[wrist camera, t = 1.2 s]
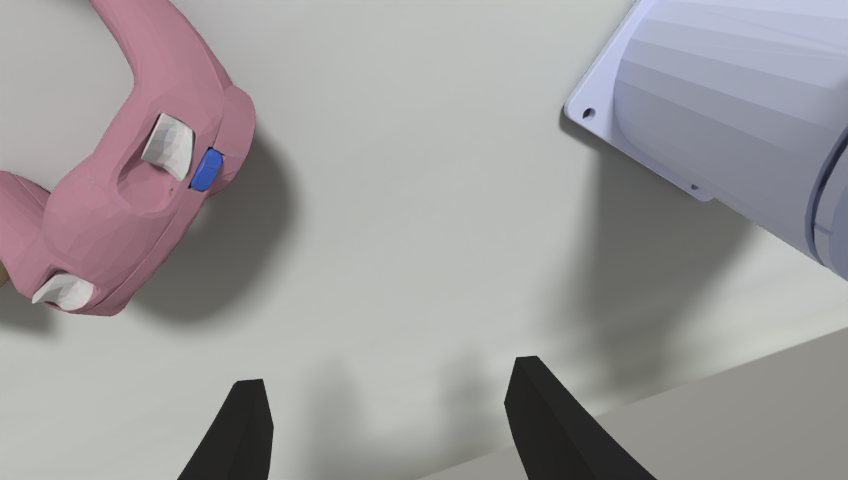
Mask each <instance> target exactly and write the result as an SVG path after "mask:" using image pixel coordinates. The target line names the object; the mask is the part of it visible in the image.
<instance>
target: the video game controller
mask: <svg viewBox="0 0 848 480" xmlns="http://www.w3.org/2000/svg"><path fill="white" fill-rule="evenodd" d="M89 1H90V3H91V4H92V6H93V7H94V9H95V10H96V11H97V13H98V14H99V16H100V17H101V19H102V20H103V22H104V23H105V25H106V26H107V28H108V29H109V31H110V32H111V34H112V35H113V37H114V38H115V40H116V41H117V43H118V44H119V46H120V48H121V50H122V52H123V54H124V55H125V57H126V59H127V61H128V63H129V65H130V67H131V69H132V72H133V74H134V88H133V90H132V92H131V94H130V95H129V97H128V99H127V100H126V102H125V103H124V104H123V106H122V107H121V109H120V110H119V112H118V113H117V115H116V116H115V118H114V119H113V121H112V122H111V124H110V125H109V127H108V129H107V130H106V132H105V134H104V136H103V137H102V139H101V141H100V142H99V144H98V146H97V147H96V149H95V151H94V153H93V154H92V155H90V156H89V157H88V158H86V159H85V160H84V161H82V162H81V163H80V164H79V165H77V166H76V167H75V168H74V169H73V170H71V171H70V172H69V173H68V174H67V175H66V176H65V177H64V178H63V179H62V180H61V181H60V182H59V183H58V184H57V186H56V187H55V188H54V190H53V191H52V193H51V194H50V193H48V192H47V191H45V190H44V189H42V188H41V187H39V186H38V185H36V184H35V183H33V182H31V181H29V180H27V179H25V178H23V177H20V176H17V175H14V174H11V173H10V172H6V171H0V259H1V261H2V263H3V264H4V266H5V268H6V270H7V272H8V274H9V276H10V278H11V280H12V283H13V285H14V287H15V288H16V289H17V291H18V292H19V293H20V294H22V295H24V296H25V297H27V298H29V299H32V304H34V303H39V302H40V303H42V304H45V305H47V306H50V307H52V308H55V309H58V310H61V311H64V312H68V313H71V314H84V315H97V316H114V315H116V314H118V313H119V312H120V311H122V310H123V309H124V308H125V306H126V305H127V303H128V302H129V300H130V298H131V297H132V295H133V294H134V292H135V291H136V290H138V289H139V288H140V287H141V286H142V285H143V284H144V283H145V282H146V281H147V280H148V278H149V277H150V276H151V275H152V274H153V273H154V272H155V271H156V270H157V269H158V267H159V266H160V265H161V264H162V263H163V262H164V261H165V259H166V258H167V257H168V255H169V254H170V253H171V251H172V250H173V249H174V247H175V246H176V245H177V243H178V242H179V241H180V239H181V238H182V237H183V235H184V234H185V232H186V231H187V229H188V228H189V226H190V225H191V223H192V222H193V220H194V219H195V217H196V215H197V214H198V212H199V210H200V208H201V207H202V205H203V203H204V201H205V200H206V198H207V197H208V196H211V195H213V194H215V193H217V192H219V191H221V190H222V189H224V188H225V187H226V186H227V185H228V184H229V183H230V182H231V181H232V180H233V178H234V177H235V176H236V174H237V173H238V171H239V170H240V168H241V167H242V165H243V162H244V160H245V158H246V156H247V154H248V152H249V149H250V146H251V142H252V139H253V135H254V130H255V119H256V117H255V109H254V105H253V102H252V100H251V98H250V97H249V96H248V95H247V94H246V93H245V92H244V91H242V90H241V89H239V88H238V87H236V86H235V85H233V84H232V82H231V80H230V78H229V76H228V74H227V73H226V71H225V69H224V68H223V66H222V65H221V64H220V62H219V61H218V59H217V58H216V56H215V55H214V54H213V52H212V51H211V49H210V48H209V47H208V45H207V44H206V42H205V41H204V39H203V38H202V37H201V35H200V34H199V33H198V32H197V31H196V29H195V28H194V27H193V26H192V25H191V23H190V22H189V21H188V20H187V18H186V17H185V16H184V15H183V14H182V13H181V12H180V11H179V10H178V9H177V8H176V7H175V6H174V5H173V4H172V3H171V2H170V1H169V0H89Z"/></svg>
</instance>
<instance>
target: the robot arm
mask: <svg viewBox="0 0 848 480" xmlns="http://www.w3.org/2000/svg"><path fill="white" fill-rule="evenodd" d="M588 108H590V109H591V112H590V114H589V115H588V116H587V117H586V118H583V113H584V111H585V110H586V109H588ZM564 113H565V115H566V116H567V117H568V118H569V119H571V120H572V121H574V122H575V123H577V124H579V125H580V126H582V127H583V128H585V129H587V130H588V131H590V132H591V133H593V134H595V135H596V136H598V137H599V138H601V139H602V140H604V141H606V142H607V143H609V144H610V145H612V146H614V147H615V148H617V149H618V150H620V151H622V152H623V153H625V154H626V155H628V156H630V157H631V158H633V159H634V160H636V161H638V162H639V163H641V164H642V165H644V166H645V167H647V168H649V169H650V170H652V171H653V172H655V173H657V174H658V175H660V176H661V177H663V178H665V179H666V180H668V181H669V182H671V183H673V184H674V185H676V186H677V187H679V188H681V189H682V190H684V191H685V192H687V193H688V194H690V195H692V196H693V197H695V198H696V199H698V200H700V201H702V202H708V201H710V200H712V199H713V198H716V199H717V200H719V201H721V202H722V203H724V204H725V205H727V206H729V207H730V208H732V209H733V210H735V211H737V212H738V213H740V214H741V215H743V216H744V217H746V218H748V219H749V220H751V221H752V222H754V223H756V224H757V225H759V226H760V227H762V228H764V229H765V230H767V231H768V232H770V233H772V234H773V235H775V236H776V237H778V238H779V239H781V240H783V241H784V242H786V243H787V244H789V245H791V246H792V247H794V248H795V249H797V250H799V251H800V252H802V253H803V254H805V255H806V256H808V257H810V258H811V259H813V260H814V261H816V262H818V263H819V264H821V265H823V266H825V267H827V268H829V269H830V270H831V271H832V272H833V273H835V274H837V275H838V276H840V277H841V278H843V279H844V280H846V281H848V0H636V2H635V3H634V5H633V6H632V8H631V9H630V10H629V12H628V13H627V15H626V16H625V18H624V19H623V20H622V22H621V23H620V25H619V26H618V28H617V29H616V30H615V32H614V33H613V35H612V36H611V38H610V39H609V40H608V42H607V43H606V45H605V46H604V48H603V49H602V50H601V52H600V53H599V55H598V56H597V58H596V59H595V60H594V62H593V63H592V65H591V66H590V68H589V69H588V70H587V72H586V73H585V75H584V76H583V78H582V79H581V80H580V82H579V83H578V85H577V86H576V88H575V89H574V90H573V92H572V93H571V95H570V96H569V98H568V99H567V101H566V103H565V105H564ZM692 184H693V185H692ZM504 405H505V409H506V413H507V417H508V421H509V425H510V428H511V432H512V436H513V439H514V442H515V445H516V448H517V450H518V453H519V456H520V458H521V461H522V463H523V466H524V468H525V471H526V474H527V476H528V479H529V480H657V479H656V478H655V477H653V476H652V475H651V474H650V473H649V472H648V471H647V470H646V469H645V468H643V467H642V466H641V465H640V464H639V463H638V462H637V461H636V460H635V459H634V458H633V457H631V456H630V455H629V454H628V453H627V452H626V451H625V450H624V449H623V448H622V447H621V446H620V445H619V444H618V443H617V442H616V441H615V440H614V439H613V438H612V437H611V436H610V435H609V434H608V433H607V432H606V431H605V430H604V429H603V428H602V427H601V426H600V425H599V424H598V423H597V422H596V421H595V419H594V418H593V417H592V416H591V415H590V414H589V413H588V412H587V411H586V410H585V409H584V408H583V407H582V406H581V405H580V404H579V402H578V401H577V400H576V399H575V398H574V397H573V396H572V395H571V394H570V393H569V391H568V390H567V389H566V388H565V387H564V386H563V385H562V384H561V382H560V381H559V380H558V379H557V378H556V377H555V376H554V374H553V373H552V372H551V371H550V370H549V369H548V368H547V366H546V365H545V364H544V363H543V362H542V361H541V360H540V359H539V358H538V357H537V356H527V357H516V360H515V364H514V368H513V371H512V375H511V379H510V383H509V386H508V390H507V394H506V398H505V401H504ZM273 429H274V426H273V421H272V417H271V413H270V408H269V404H268V400H267V395H266V391H265V386H264V382H263V379H255V380H243V381H237V382H236V383H235V384H234V385H233V387H232V388H231V390H230V392H229V394H228V396H227V398H226V400H225V402H224V404H223V405H222V407H221V409H220V411H219V413H218V414H217V416H216V418H215V420H214V421H213V423H212V425H211V426H210V428H209V430H208V431H207V433H206V435H205V436H204V438H203V440H202V441H201V443H200V445H199V446H198V448H197V449H196V451H195V452H194V454H193V456H192V457H191V459H190V460H189V462H188V464H187V465H186V467H185V468H184V470H183V471H182V473H181V474H180V476H179V477H178V479H177V480H267V479H268V474H269V469H270V460H271V450H272V440H273Z"/></svg>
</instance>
